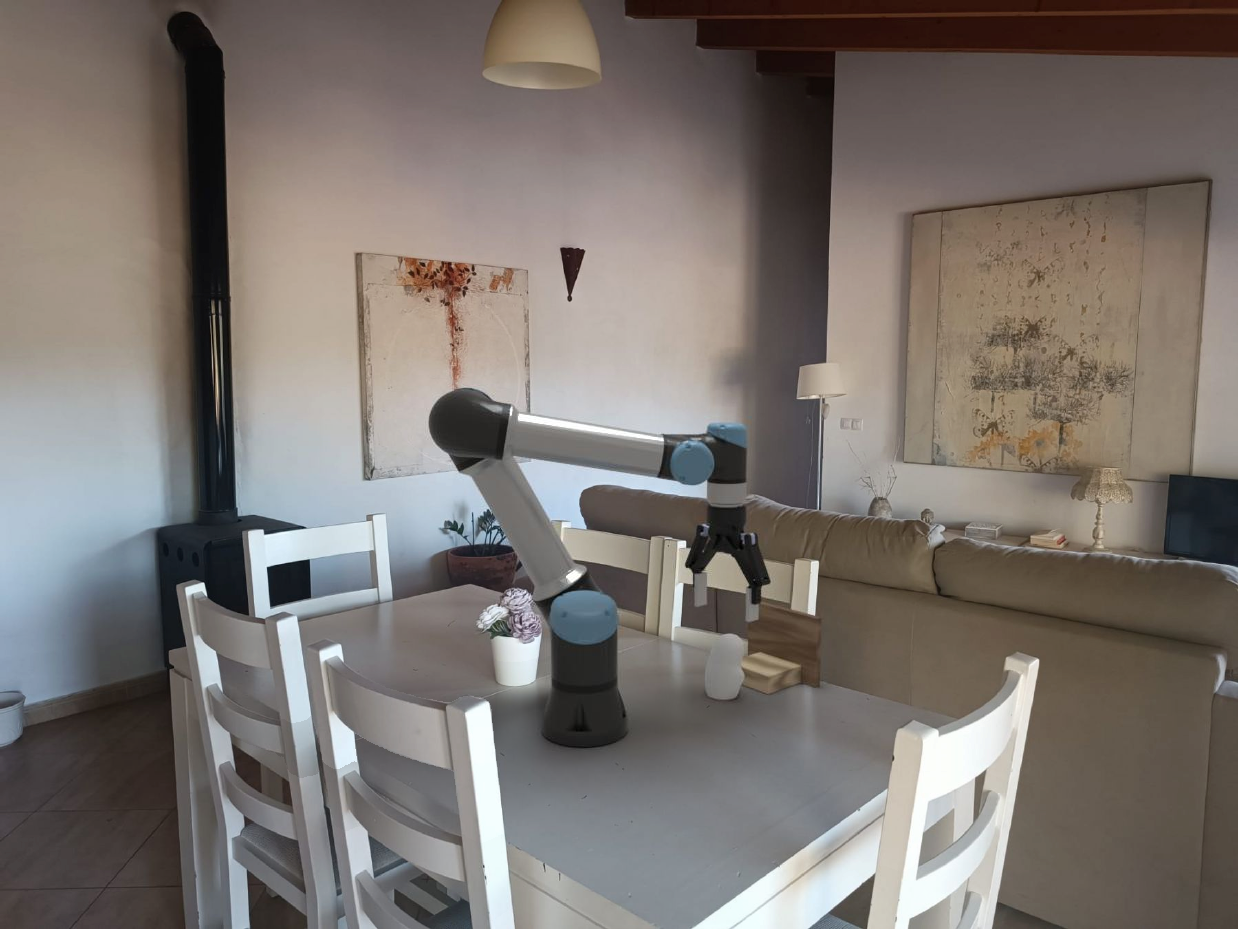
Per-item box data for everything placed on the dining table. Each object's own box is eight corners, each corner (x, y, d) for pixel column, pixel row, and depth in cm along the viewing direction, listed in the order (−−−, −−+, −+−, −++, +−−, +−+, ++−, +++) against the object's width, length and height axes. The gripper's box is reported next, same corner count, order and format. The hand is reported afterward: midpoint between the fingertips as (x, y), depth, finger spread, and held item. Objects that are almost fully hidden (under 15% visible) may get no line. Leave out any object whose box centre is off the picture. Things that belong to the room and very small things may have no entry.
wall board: (782, 699, 165) (783, 628, 163) (714, 674, 179) (715, 608, 177) (819, 685, 172) (821, 617, 170) (752, 662, 186) (753, 598, 184)
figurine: (746, 701, 164) (747, 640, 163) (706, 701, 164) (706, 640, 163) (741, 687, 171) (742, 628, 170) (703, 687, 171) (704, 628, 170)
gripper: (790, 509, 156) (788, 623, 159) (694, 494, 176) (694, 596, 178) (763, 514, 152) (761, 631, 154) (667, 498, 171) (667, 602, 173)
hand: (725, 612), depth 166 cm, fingers open, 13 cm apart
